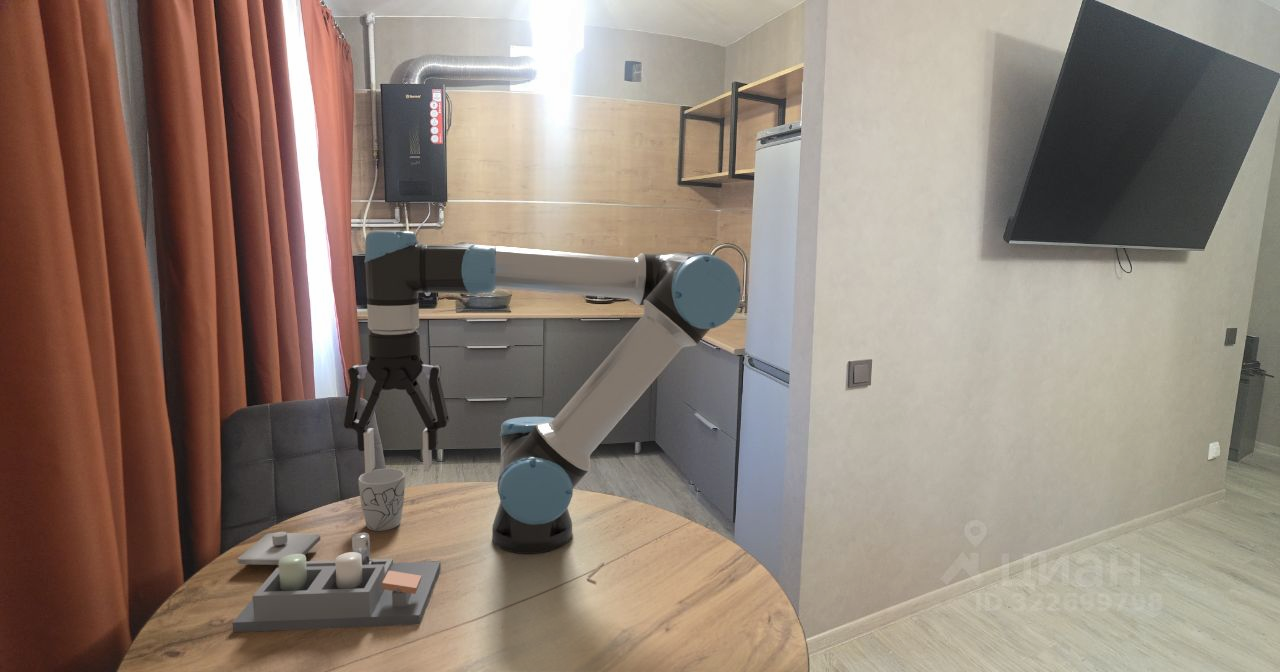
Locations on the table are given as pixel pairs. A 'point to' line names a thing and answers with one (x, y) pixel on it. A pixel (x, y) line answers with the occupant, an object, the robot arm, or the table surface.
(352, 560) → the white button
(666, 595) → the table surface
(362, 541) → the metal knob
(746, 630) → the table surface
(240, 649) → the table surface
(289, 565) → the sage button
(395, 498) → the mug
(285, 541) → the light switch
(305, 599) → the panel
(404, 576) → the block
